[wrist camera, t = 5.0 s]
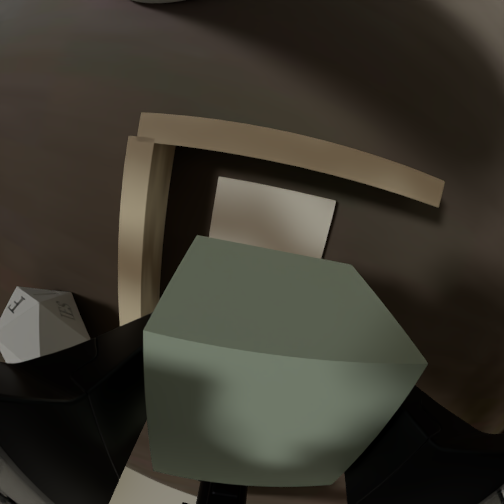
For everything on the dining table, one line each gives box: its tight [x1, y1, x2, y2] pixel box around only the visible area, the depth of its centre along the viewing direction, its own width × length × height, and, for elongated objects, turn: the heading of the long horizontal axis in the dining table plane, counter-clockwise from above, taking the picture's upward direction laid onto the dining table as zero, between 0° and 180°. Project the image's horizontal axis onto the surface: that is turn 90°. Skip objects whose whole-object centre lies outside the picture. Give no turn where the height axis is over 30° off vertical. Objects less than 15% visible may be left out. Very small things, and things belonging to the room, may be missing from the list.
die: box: [0, 286, 90, 363], centre depth 17 cm, size 8×9×10 cm
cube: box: [143, 235, 428, 487], centre depth 7 cm, size 5×5×5 cm
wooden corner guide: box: [118, 112, 445, 326], centre depth 16 cm, size 15×16×4 cm
